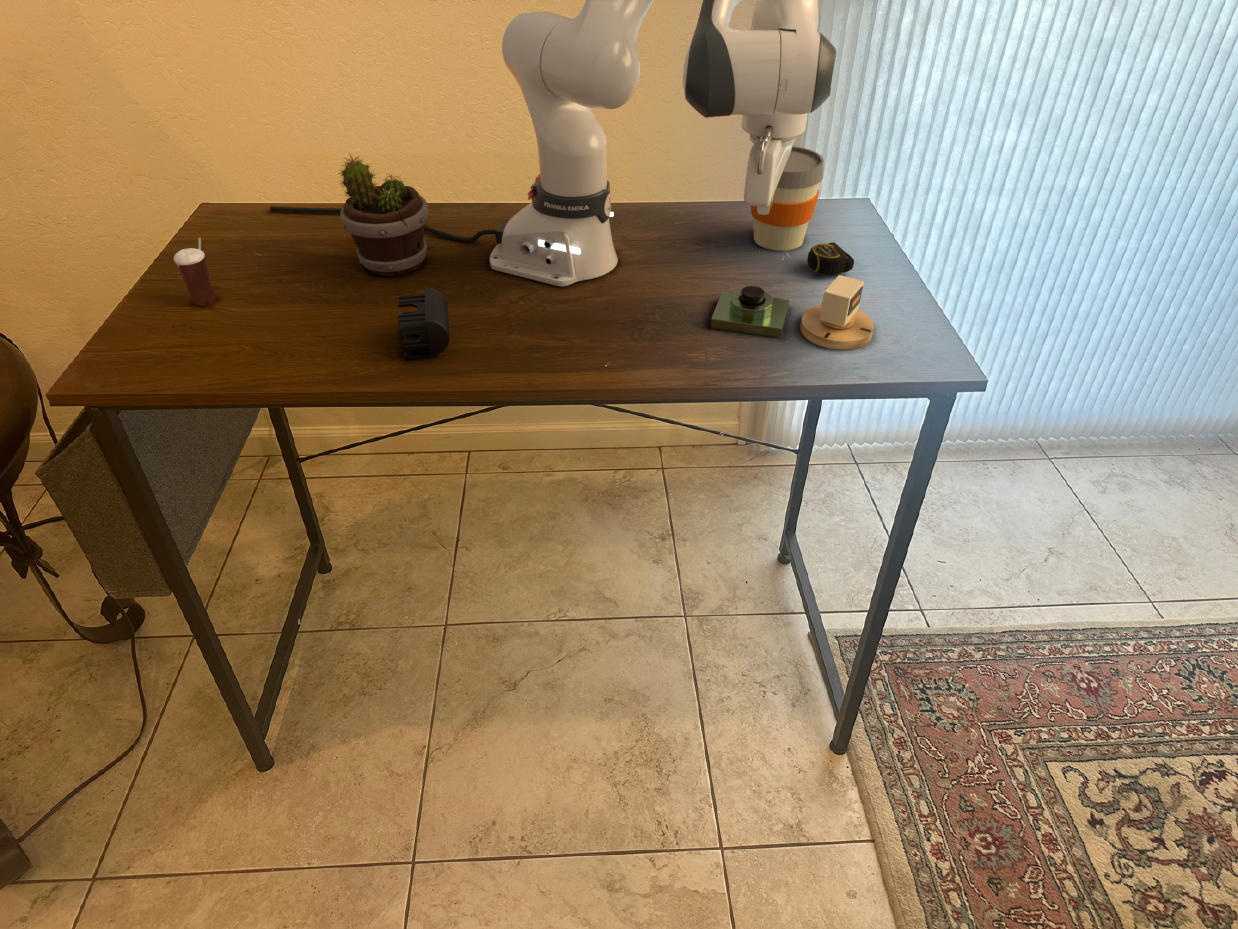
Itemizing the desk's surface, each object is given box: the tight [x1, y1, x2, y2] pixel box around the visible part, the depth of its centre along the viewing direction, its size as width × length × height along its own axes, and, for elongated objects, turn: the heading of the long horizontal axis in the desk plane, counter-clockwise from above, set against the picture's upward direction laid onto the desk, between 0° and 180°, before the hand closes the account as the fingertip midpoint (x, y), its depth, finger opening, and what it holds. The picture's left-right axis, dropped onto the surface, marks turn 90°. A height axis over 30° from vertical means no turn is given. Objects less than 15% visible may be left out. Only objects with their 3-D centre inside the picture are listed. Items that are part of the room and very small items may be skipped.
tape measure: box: [806, 242, 855, 277], centre depth 147 cm, size 7×7×4 cm
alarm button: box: [740, 285, 766, 306], centre depth 134 cm, size 4×4×2 cm
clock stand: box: [799, 304, 875, 351], centre depth 133 cm, size 11×11×2 cm
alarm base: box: [710, 289, 790, 339], centre depth 136 cm, size 11×9×4 cm
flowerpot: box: [337, 152, 430, 277], centre depth 145 cm, size 14×15×20 cm
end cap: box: [397, 287, 450, 361], centre depth 130 cm, size 10×7×7 cm
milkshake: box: [173, 237, 216, 307], centre depth 139 cm, size 5×5×10 cm
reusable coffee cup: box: [750, 145, 825, 252], centre depth 153 cm, size 13×13×15 cm
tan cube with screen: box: [819, 274, 865, 329], centre depth 131 cm, size 5×6×6 cm
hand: (764, 210), depth 127 cm, fingers closed
